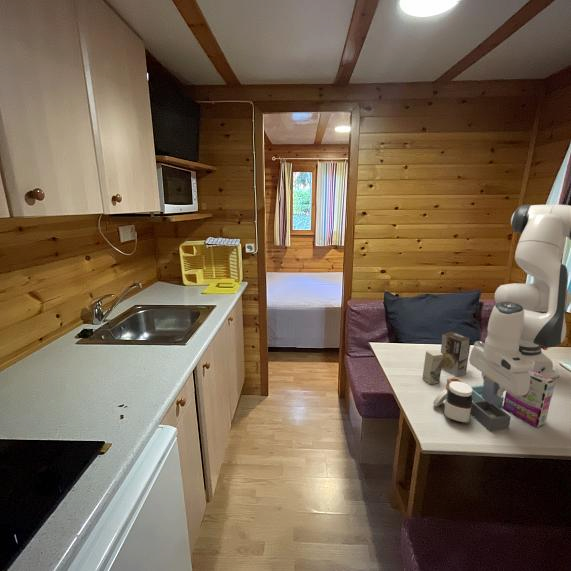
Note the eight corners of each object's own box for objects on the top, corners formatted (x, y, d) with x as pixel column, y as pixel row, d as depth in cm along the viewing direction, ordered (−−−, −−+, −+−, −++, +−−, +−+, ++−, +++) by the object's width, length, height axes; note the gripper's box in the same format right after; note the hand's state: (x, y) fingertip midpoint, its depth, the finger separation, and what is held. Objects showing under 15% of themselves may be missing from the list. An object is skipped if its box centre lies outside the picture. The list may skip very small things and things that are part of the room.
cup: (455, 388, 122) (457, 377, 120) (463, 395, 118) (465, 383, 116) (445, 389, 121) (447, 378, 120) (453, 396, 117) (454, 385, 116)
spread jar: (469, 429, 100) (474, 398, 97) (431, 418, 106) (434, 388, 102) (468, 408, 110) (473, 379, 107) (433, 399, 116) (437, 371, 113)
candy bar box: (546, 424, 102) (556, 380, 98) (537, 428, 100) (547, 384, 96) (510, 404, 112) (519, 363, 108) (501, 408, 110) (509, 367, 106)
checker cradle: (484, 408, 110) (486, 397, 109) (508, 428, 100) (510, 416, 99) (466, 410, 109) (468, 399, 108) (489, 431, 99) (491, 419, 98)
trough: (485, 393, 119) (486, 384, 118) (502, 406, 111) (503, 397, 110) (466, 395, 118) (467, 386, 117) (482, 408, 110) (483, 399, 109)
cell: (491, 396, 105) (495, 371, 102) (499, 402, 101) (504, 377, 99) (481, 397, 104) (486, 372, 101) (489, 404, 101) (494, 378, 98)
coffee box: (466, 373, 132) (472, 338, 128) (456, 377, 130) (461, 341, 126) (447, 363, 140) (452, 330, 136) (437, 367, 138) (442, 333, 133)
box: (429, 384, 125) (432, 355, 121) (421, 379, 129) (425, 350, 125) (440, 382, 126) (444, 354, 123) (432, 377, 130) (436, 349, 127)
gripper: (467, 339, 107) (461, 374, 111) (518, 370, 88) (509, 412, 92) (484, 337, 108) (477, 372, 112) (538, 368, 89) (528, 409, 93)
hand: (492, 390), depth 102 cm, fingers closed on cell, 3 cm apart
